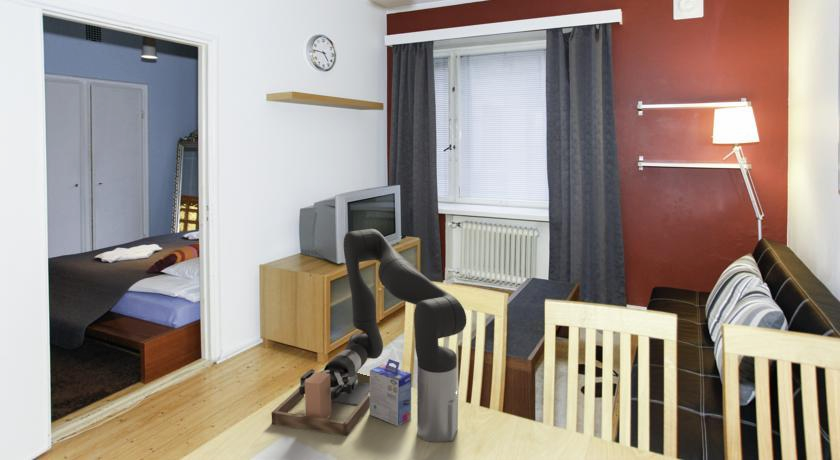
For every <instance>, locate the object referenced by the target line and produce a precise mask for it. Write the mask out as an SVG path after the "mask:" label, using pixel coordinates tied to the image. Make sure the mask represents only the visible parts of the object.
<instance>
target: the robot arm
mask: <svg viewBox="0 0 840 460" xmlns="http://www.w3.org/2000/svg"><path fill="white" fill-rule="evenodd" d="M343 254H344V260H345V265H346V273H347V278H348V283H349V284H348V285H349V288H350V293H351V303H352V304H351V307H352V323H353V324H352V325H353V326H354V328H356V329H357V330H360V331H362V332H363V333H358V332H357V333H354V334H352V335H351V336H350V337H349V339H348V342H347V345H346V347H345V348H344V349H343V350H342V351H340V352H339V353H338V354H336V355H335V356H334V357H333V358H332V359H331V360H330V361H329V362H328V363H327V364H325V367H324V368H323V370H322V371H320V372H321V373H328V374H330V387H332V388H333V387H335V388H334V389H333V390H332V392H331V399H333V400H335V399H336V398H338V397H339V396H340V395H341V394H344V392H347V394H351V393H352V392H353V390H354V389H355V388H356V386H357V385H358V381H359V379H358V375H357V374H358V372H359V371H360V369H361V368H362V367H363V366H364V364H366V362H367V360H368V359H372V360H373V359H374V360H375V359H378V358H379V357H380V356H381V355H382V353H383V350H384V343H383V338H382V335H381V332H380V329H379V325H378V322H377V303H376V298H375V296H374V293H373V292H372V290H371V289H370V287H369V286H368V285H367V283H366V282H365V280H364V279H363V276H362V274H361V270H360V263H363V262H368V261H377V262H379V266H378V271H377V272H378V273H377V274H378V279H379V282H380V283H381V285H382V286H383V287H384V288H385V289H386V290H387V291H388V292H389V293H390V294H391V295H392V296H393V297H394V298H397V299H399V300H401V301H403V302H407V303H410V304H412V305H415V309H414V313H413V323H414V324H413V325H414V327H413V328H414V347H415V349H414V350H415V355H416V359H417V372H416V373H417V382H416V383H417V387H416V388H417V393H416V394H417V395H416V396H417V398H416V399H417V401H416V404H417V406H416V407H417V408H416V409H417V410H416V411H417V413H416V414H417V419H416V421H417V422H416V427H417V435H418V436H419V437H420V438H421V439H422V440H425V441H428V442H432V443H440V442H442V443H443V442H446V441H447V442H449V441H450V442H453V441H454V439H455V436H456V433H457V431H458V424H459V392H458V391H457V367H458V366H457V363H458V361H457V360H458V358H457V353H456V352H455V351H454V350H453V349H451V348H449V347H446V346H442V345H441V346H440V345H439V339H443V338H448V337H452V336H455V335H458V334H460V333H461V332H462V331H464V329H465V328H466V326H467V314H466V311H465V309H464V307H463V304H462V303H461V302H460V300H458V299H457V298H456V297H455V296H453V295H452V294H451V293H449V292H447V291H446V290H444V289H443V288H441V287H439V286H438V285H436V284H435V283H434V282H433V281H431V280H430V279H429V278H428V277H427V276H425V275H424V274H423V273H421V271H419V270H418V268H416V266H414V265H413V264H412V263H411V262H410V261H409V260H407V259H406V258H405V257H404V256H402V255H401V254H400V253H399V252H398V251H397V250H396V249H395V247H393V246H392V245H391V244H390V242H389V241H388V240H387V239H386V238H385V236H384V235H383V234H382V233H381V232H380V231H379V230H377V229H374V228H367V229H360V230H358V229H357V230H353V231H348V232H347V233H345V235H344V238H343ZM315 372H316V371H315V369H313V368H311V369H309V370H308V371H306V372H305V373H304V374H303V375H302V376H300V378H299V381H300V385H299V387H298V388H299V393H300V395H304V396H305V381H306V380H307V379H308V378H309V377H311V376H312V375H313V374H314V373H315ZM346 384H347V385H346Z"/></svg>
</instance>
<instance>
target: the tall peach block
mask: <svg viewBox="0 0 840 460" xmlns="http://www.w3.org/2000/svg"><path fill="white" fill-rule="evenodd" d="M314 372H315V373H314V374H313V375H312V376H311V377H309V378H308V379H307V380H306V381H305V394H304V402H305V403H304V404H305V407H304V408H305V416H312V417H318V418H325V419H329V417H330V416H331V415H332V402H331V387H330V374H328V373H321V371H314Z"/></svg>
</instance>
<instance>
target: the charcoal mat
mask: <svg viewBox="0 0 840 460" xmlns="http://www.w3.org/2000/svg"><path fill="white" fill-rule="evenodd" d="M346 385H347V384H346ZM334 388H335V387H333V388H332V387H331V392H332V390H333V389H334ZM368 394H370V383H366V382H358V385H357V386H356V388H355V389H354V390H353V392H352V393H351V394H347V392H344V394H341V395H340V396H339V397H338V398H336V399H335V400H333V399H331V403H338V404H344V405H352V406H356V407H357V406H358V404H359V403H360V402H361V401H362V399H363V398H364V397H365V396H366V395H368Z"/></svg>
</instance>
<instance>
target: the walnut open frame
mask: <svg viewBox="0 0 840 460" xmlns="http://www.w3.org/2000/svg"><path fill="white" fill-rule="evenodd" d="M302 399H305V394H304V395H300V393H299V387H298V388H296V389H295V391H293V392H292V393H291V394H290V395H289V396H288V397H287V398H286V399H285V400H283V401H282V403H280V404H279V405H278V406H276V408H275V409H273V410H272V411H271V413H270V414H271V424H272V425H277V426H282V427H283V426H284V427H289V428H290V427H291V428H295V429H296V428H297V429H303V430H308V431H315V432H320V433H327V434H332V435H340V436H345V437H347V436H348V435H349V434H350V433H351V431H352V430H353V429H354V428H355V426H356V425H357V424H358V422H359V421H360V420H361V418H362V417H363V416H364V415H365V414H366V412H367V411H368V409H370V395H368V394H367V395H366V396H365V397H364V398H363V399H362V401H361V402H360V403H359V404H358V406H357V405H356V407H355V408H354V409H353V411H352V412H351V413H350V414H349V415H348V417H347V418H346V419H345V420H344V421H342V420H338V419H337V420H336V419H330V418H327V419H325V418H318V417H312V416H306V414H305V415H304V414H298V413H293V412H291V413H290V411H291V410H292V409H293V408H295V406H296V405H298V404H299V402H301V400H302Z"/></svg>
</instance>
